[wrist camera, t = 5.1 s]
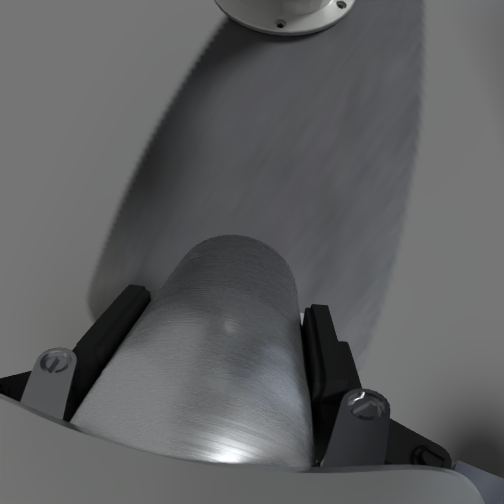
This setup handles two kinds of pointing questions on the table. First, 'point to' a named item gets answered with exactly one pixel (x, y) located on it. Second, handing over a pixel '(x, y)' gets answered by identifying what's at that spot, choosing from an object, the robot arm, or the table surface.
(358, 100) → the table surface
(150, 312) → the spout can
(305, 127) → the table surface
